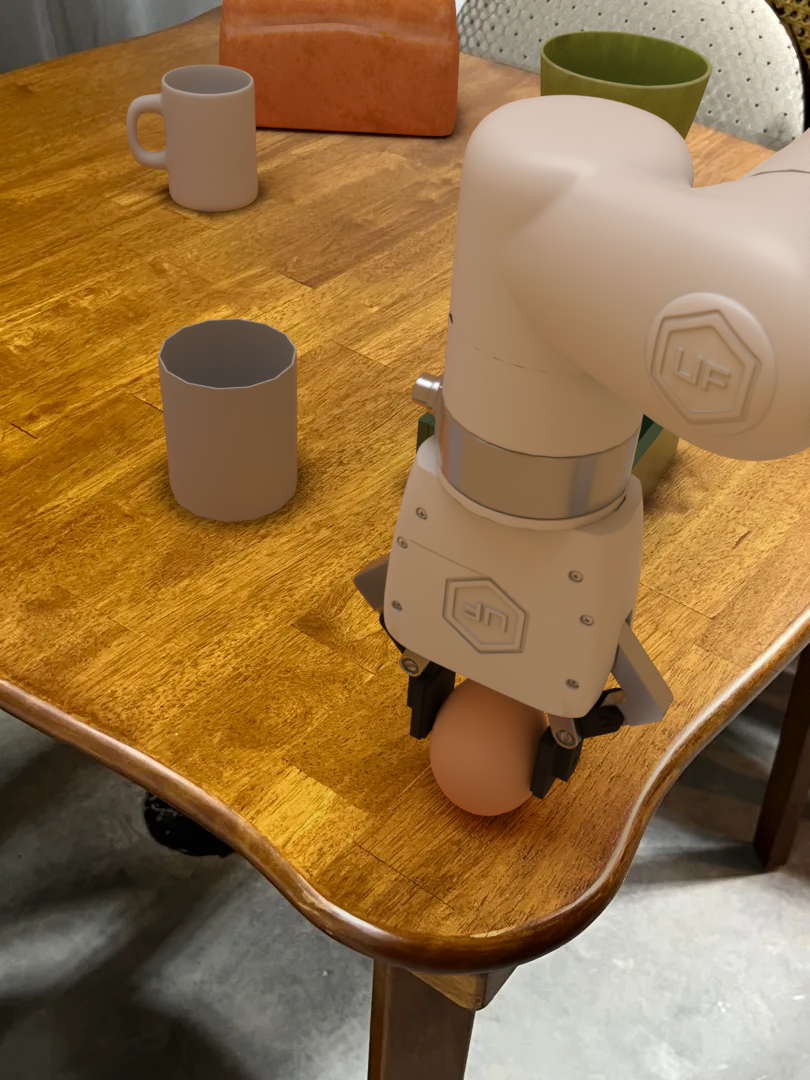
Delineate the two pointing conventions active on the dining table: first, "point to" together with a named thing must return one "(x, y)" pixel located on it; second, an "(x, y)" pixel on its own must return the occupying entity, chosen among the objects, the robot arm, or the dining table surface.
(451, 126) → the bread
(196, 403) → the cup
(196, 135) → the mug
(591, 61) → the flower pot
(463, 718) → the egg
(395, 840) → the dining table surface
